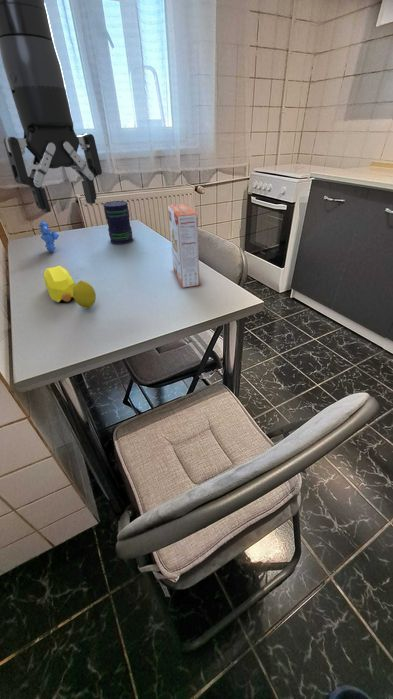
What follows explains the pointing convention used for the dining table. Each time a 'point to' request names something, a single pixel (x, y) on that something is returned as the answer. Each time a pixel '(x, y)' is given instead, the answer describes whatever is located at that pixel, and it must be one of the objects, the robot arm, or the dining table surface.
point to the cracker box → (184, 244)
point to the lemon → (84, 294)
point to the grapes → (48, 236)
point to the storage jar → (118, 222)
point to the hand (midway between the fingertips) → (69, 207)
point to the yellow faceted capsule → (59, 283)
